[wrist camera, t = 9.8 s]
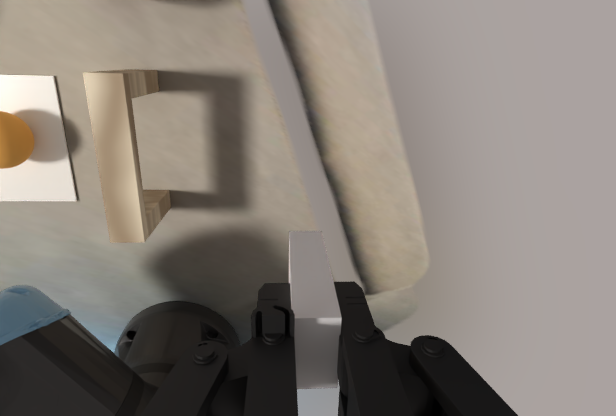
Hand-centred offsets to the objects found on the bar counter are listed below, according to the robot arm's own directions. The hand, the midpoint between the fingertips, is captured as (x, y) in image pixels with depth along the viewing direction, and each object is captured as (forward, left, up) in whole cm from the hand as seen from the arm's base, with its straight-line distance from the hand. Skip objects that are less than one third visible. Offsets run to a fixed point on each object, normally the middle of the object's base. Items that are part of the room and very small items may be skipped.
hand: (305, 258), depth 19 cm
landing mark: (0, +30, -26) cm, 40 cm away
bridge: (0, +15, -26) cm, 30 cm away
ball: (+1, +28, -24) cm, 37 cm away
